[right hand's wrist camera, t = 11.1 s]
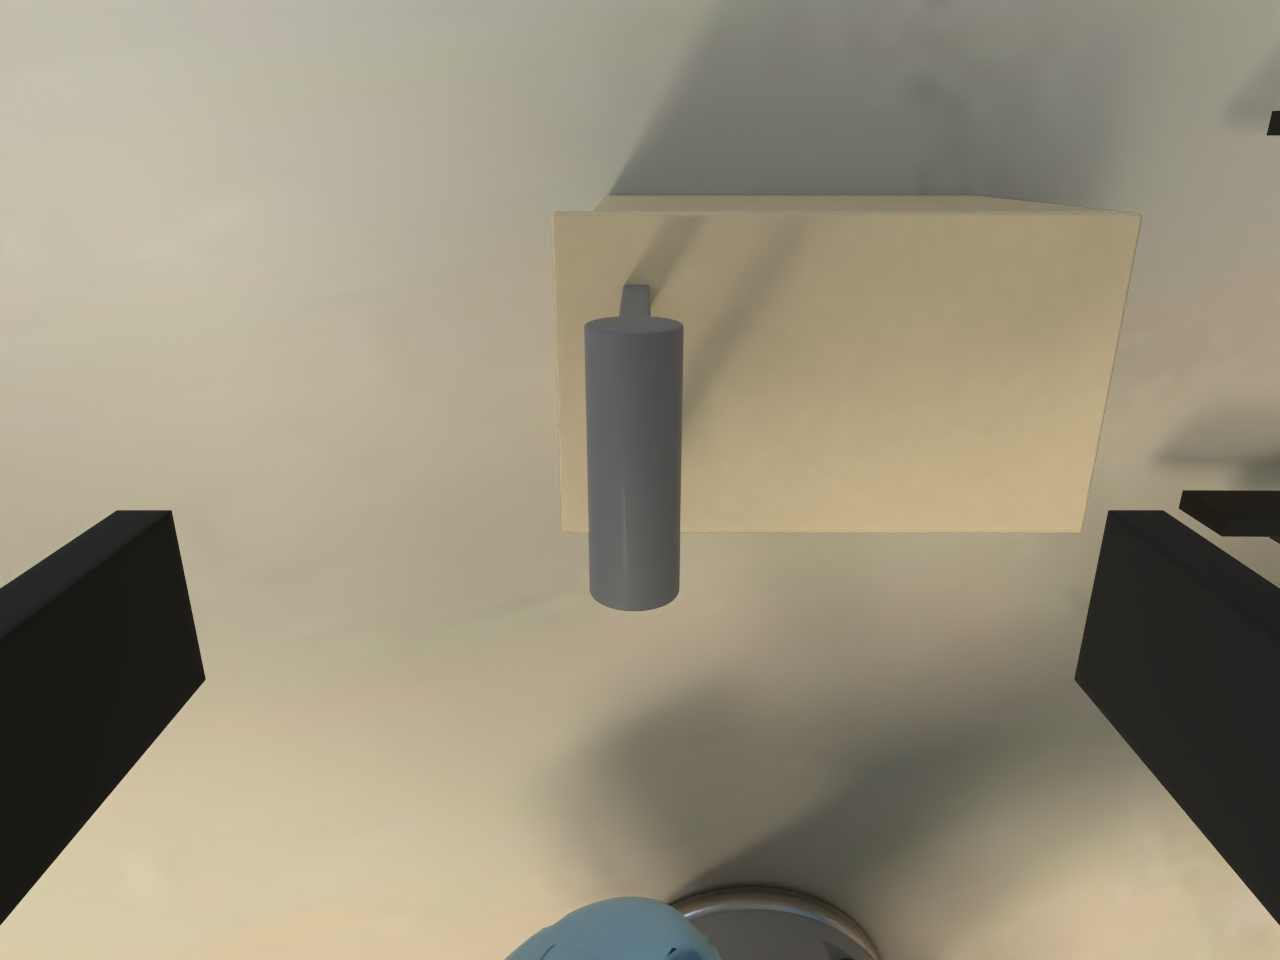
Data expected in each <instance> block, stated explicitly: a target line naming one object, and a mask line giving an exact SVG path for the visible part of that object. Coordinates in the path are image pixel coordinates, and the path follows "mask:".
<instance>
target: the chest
mask: <svg viewBox="0 0 1280 960" xmlns="http://www.w3.org/2000/svg"><path fill="white" fill-rule="evenodd" d="M593 211H1113V210H1104V209H1095V208H1086V207H1076V206H1067V205H1058V204H1049V203H1040V202H1030V201H1021V200H1012V199H1003V198H994V197H984V196H975V195H608V196H607V197H605V198H604V200H603V201H602V202H601V203H600V204H599V205H598V206H597V207H596V208H595V209H594V210H593Z"/></svg>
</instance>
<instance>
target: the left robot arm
mask: <svg viewBox="0 0 1280 960" xmlns="http://www.w3.org/2000/svg"><path fill="white" fill-rule="evenodd" d="M1267 135H1280V111H1272V115H1271V119H1270V123H1269V128H1268V132H1267ZM1179 509H1181V510H1182V511H1184V512H1185V513H1187V514H1188V515H1190V516H1191V517H1193V518H1194V519H1196V520H1198V521H1199V522H1201V523H1202V524H1204V525H1205V526H1207V527H1208V528H1210V529H1211V530H1213V531H1215V532H1216V533H1218V534H1219V535H1221V536H1259V537H1269V538H1271V539H1273V540H1274V541H1276V542H1278V543H1279V544H1280V491H1185V490H1183V493H1182V497H1181V501H1180V505H1179ZM505 960H879V959H878V956H877V954H876V951H875V949H874V947H873V945H872V943H871V942H870V940H869V939H868V937H867V936H866V934H865V933H864V932H863V931H862V930H861V929H860V928H859V926H858V925H857V924H855V923H854V922H853V921H852V920H851V919H850V918H849V917H847V916H846V915H845V914H843V913H842V912H841V911H839V910H838V909H836V908H834V907H833V906H831V905H829V904H827V903H825V902H823V901H821V900H819V899H816V898H813V897H811V896H808V895H805V894H802V893H798V892H795V891H790V890H785V889H780V888H771V887H756V886H749V887H733V888H724V889H719V890H714V891H709V892H706V893H702V894H698V895H695V896H692V897H690V898H687V899H684V900H682V901H680V902H678V903H675V904H673V905H671V906H670V905H667V904H665V903H663V902H660V901H657V900H654V899H648V898H641V897H620V898H612V899H607V900H603V901H600V902H596V903H593V904H590V905H587V906H585V907H582V908H580V909H577V910H575V911H573V912H571V913H569V914H567V915H566V916H565V917H564V918H563V919H561V920H560V921H558V922H557V923H555V924H554V925H551V926H549V927H547V928H543V929H542V930H540V931H539V932H537V933H536V934H535V935H533V936H532V937H530V938H529V939H528V940H527V941H525V942H524V943H523V944H522V945H520V946H519V947H518V948H517V949H516V950H515V951H514V952H512V953H511V954H510V955H509V956H508V957H507V958H506V959H505Z"/></svg>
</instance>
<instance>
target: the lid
mask: <svg viewBox="0 0 1280 960" xmlns="http://www.w3.org/2000/svg"><path fill="white" fill-rule="evenodd" d="M1141 220H1142V215H1141V214H1139V213H1131V212H1122V211H558V212H555V213H554V214H552V217H551V223H552V252H553V282H554V311H555V341H556V370H557V400H558V429H559V458H560V488H561V517H562V530H563V532H589V567H590V592H591V595H592V596H593V598H594V599H595V600H596V601H597V602H599V603H601V604H602V605H605V606H607V607H610V608H613V609H618V610H625V611H644V610H651V609H655V608H659V607H662V606H664V605H667V604H668V603H670V602H671V601H673V600H674V599H675V598H676V596H677V595H678V592H679V570H680V532H934V533H1080V532H1081V531H1082V527H1083V522H1084V517H1085V512H1086V507H1087V501H1088V496H1089V491H1090V486H1091V481H1092V475H1093V470H1094V465H1095V460H1096V454H1097V449H1098V444H1099V439H1100V434H1101V428H1102V423H1103V418H1104V413H1105V408H1106V402H1107V397H1108V392H1109V387H1110V381H1111V376H1112V371H1113V366H1114V361H1115V355H1116V350H1117V345H1118V340H1119V335H1120V329H1121V324H1122V319H1123V314H1124V308H1125V303H1126V298H1127V293H1128V288H1129V282H1130V277H1131V272H1132V267H1133V262H1134V256H1135V251H1136V246H1137V241H1138V236H1139V230H1140V225H1141Z"/></svg>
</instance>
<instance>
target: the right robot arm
mask: <svg viewBox="0 0 1280 960" xmlns="http://www.w3.org/2000/svg"><path fill="white" fill-rule="evenodd" d="M205 680H206V679H205V674H204V669H203V664H202V659H201V654H200V649H199V644H198V639H197V634H196V630H195V625H194V620H193V615H192V610H191V605H190V600H189V595H188V590H187V585H186V580H185V575H184V570H183V565H182V560H181V555H180V550H179V545H178V540H177V535H176V530H175V525H174V520H173V515H172V511H171V510H117V511H115V512H114V513H112V514H111V515H109V516H108V517H106V518H105V519H103V520H102V521H100V522H99V523H97V524H96V525H94V526H93V527H91V528H90V529H88V530H87V531H86V532H84V533H83V534H81V535H80V536H78V537H77V538H75V539H74V540H72V541H71V542H69V543H68V544H66V545H65V546H63V547H62V548H60V549H59V550H57V551H56V552H54V553H53V554H51V555H50V556H48V557H47V558H45V559H44V560H42V561H41V562H39V563H38V564H36V565H35V566H33V567H32V568H30V569H29V570H27V571H26V572H24V573H23V574H21V575H20V576H18V577H17V578H15V579H14V580H13V581H11V582H10V583H8V584H7V585H5V586H4V587H2V588H1V589H0V925H1V924H2V923H3V921H4V920H5V919H6V918H7V917H8V915H9V914H10V913H11V912H12V911H13V909H14V908H15V907H16V906H17V905H18V904H19V902H20V901H21V900H22V899H23V898H24V896H25V895H26V894H27V893H28V892H29V890H30V889H31V888H32V887H33V886H34V884H35V883H36V882H37V881H38V880H39V878H40V877H41V876H42V875H43V874H44V872H45V871H46V870H47V869H48V868H49V866H50V865H51V864H52V863H53V862H54V860H55V859H56V858H57V857H58V856H59V854H60V853H61V852H62V851H63V850H64V848H65V847H66V846H67V845H68V844H69V842H70V841H71V840H72V839H73V838H74V836H75V835H76V834H77V833H78V832H79V830H80V829H81V828H82V827H83V826H84V824H85V823H86V822H87V821H88V820H89V818H90V817H91V816H92V815H93V814H94V812H95V811H96V810H97V809H98V808H99V807H100V805H101V804H102V803H103V802H104V801H105V799H106V798H107V797H108V796H109V795H110V793H111V792H112V791H113V790H114V789H115V787H116V786H117V785H118V784H119V783H120V781H121V780H122V779H123V778H124V777H125V775H126V774H127V773H128V772H129V771H130V769H131V768H132V767H133V766H134V765H135V763H136V762H137V761H138V760H139V759H140V757H141V756H142V755H143V754H144V753H145V751H146V750H147V749H148V748H149V747H150V745H151V744H152V743H153V742H154V741H155V739H156V738H157V737H158V736H159V735H160V733H161V732H162V731H163V730H164V729H165V727H166V726H167V725H168V724H169V723H170V721H171V720H172V719H173V718H174V717H175V715H176V714H177V713H178V712H179V711H180V710H181V708H182V707H183V706H184V705H185V704H186V702H187V701H188V700H189V699H190V698H191V696H192V695H193V694H194V693H195V692H196V690H197V689H198V688H199V687H200V686H201V684H202V683H203V682H204V681H205ZM1074 680H1075V681H1076V682H1077V683H1078V684H1079V686H1080V687H1081V688H1082V689H1083V690H1084V692H1085V693H1086V694H1087V695H1088V696H1089V698H1090V699H1091V700H1092V701H1093V702H1094V704H1095V705H1096V706H1097V707H1098V708H1099V710H1100V711H1101V712H1102V713H1103V714H1104V715H1105V717H1106V718H1107V719H1108V720H1109V721H1110V723H1111V724H1112V725H1113V726H1114V727H1115V729H1116V730H1117V731H1118V732H1119V733H1120V735H1121V736H1122V737H1123V738H1124V739H1125V741H1126V742H1127V743H1128V744H1129V745H1130V747H1131V748H1132V749H1133V750H1134V751H1135V753H1136V754H1137V755H1138V756H1139V757H1140V759H1141V760H1142V761H1143V762H1144V763H1145V765H1146V766H1147V767H1148V768H1149V769H1150V771H1151V772H1152V773H1153V774H1154V775H1155V777H1156V778H1157V779H1158V780H1159V781H1160V783H1161V784H1162V785H1163V786H1164V787H1165V789H1166V790H1167V791H1168V792H1169V793H1170V795H1171V796H1172V797H1173V798H1174V799H1175V801H1176V802H1177V803H1178V804H1179V805H1180V807H1181V808H1182V809H1183V810H1184V811H1185V812H1186V814H1187V815H1188V816H1189V817H1190V818H1191V820H1192V821H1193V822H1194V823H1195V824H1196V826H1197V827H1198V828H1199V829H1200V830H1201V832H1202V833H1203V834H1204V835H1205V836H1206V838H1207V839H1208V840H1209V841H1210V842H1211V844H1212V845H1213V846H1214V847H1215V848H1216V850H1217V851H1218V852H1219V853H1220V854H1221V856H1222V857H1223V858H1224V859H1225V860H1226V862H1227V863H1228V864H1229V865H1230V866H1231V868H1232V869H1233V870H1234V871H1235V872H1236V874H1237V875H1238V876H1239V877H1240V878H1241V880H1242V881H1243V882H1244V883H1245V884H1246V886H1247V887H1248V888H1249V889H1250V890H1251V892H1252V893H1253V894H1254V895H1255V896H1256V898H1257V899H1258V900H1259V901H1260V902H1261V904H1262V905H1263V906H1264V907H1265V908H1266V909H1267V911H1268V912H1269V913H1270V914H1271V915H1272V917H1273V918H1274V919H1275V920H1276V921H1277V923H1278V924H1279V925H1280V589H1279V588H1278V587H1276V586H1275V585H1273V584H1272V583H1270V582H1269V581H1267V580H1266V579H1265V578H1263V577H1262V576H1260V575H1259V574H1257V573H1256V572H1254V571H1253V570H1251V569H1250V568H1248V567H1247V566H1245V565H1244V564H1242V563H1241V562H1239V561H1238V560H1236V559H1235V558H1233V557H1232V556H1230V555H1229V554H1227V553H1226V552H1224V551H1223V550H1221V549H1220V548H1218V547H1217V546H1215V545H1214V544H1212V543H1211V542H1209V541H1208V540H1206V539H1205V538H1203V537H1202V536H1200V535H1199V534H1197V533H1196V532H1194V531H1193V530H1192V529H1190V528H1189V527H1187V526H1186V525H1184V524H1183V523H1181V522H1180V521H1178V520H1177V519H1175V518H1174V517H1172V516H1171V515H1169V514H1168V513H1166V512H1165V511H1163V510H1108V515H1107V520H1106V525H1105V530H1104V535H1103V540H1102V545H1101V550H1100V555H1099V560H1098V565H1097V570H1096V575H1095V580H1094V585H1093V590H1092V595H1091V600H1090V605H1089V610H1088V615H1087V620H1086V625H1085V629H1084V634H1083V639H1082V644H1081V649H1080V654H1079V659H1078V664H1077V669H1076V674H1075V679H1074Z"/></svg>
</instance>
